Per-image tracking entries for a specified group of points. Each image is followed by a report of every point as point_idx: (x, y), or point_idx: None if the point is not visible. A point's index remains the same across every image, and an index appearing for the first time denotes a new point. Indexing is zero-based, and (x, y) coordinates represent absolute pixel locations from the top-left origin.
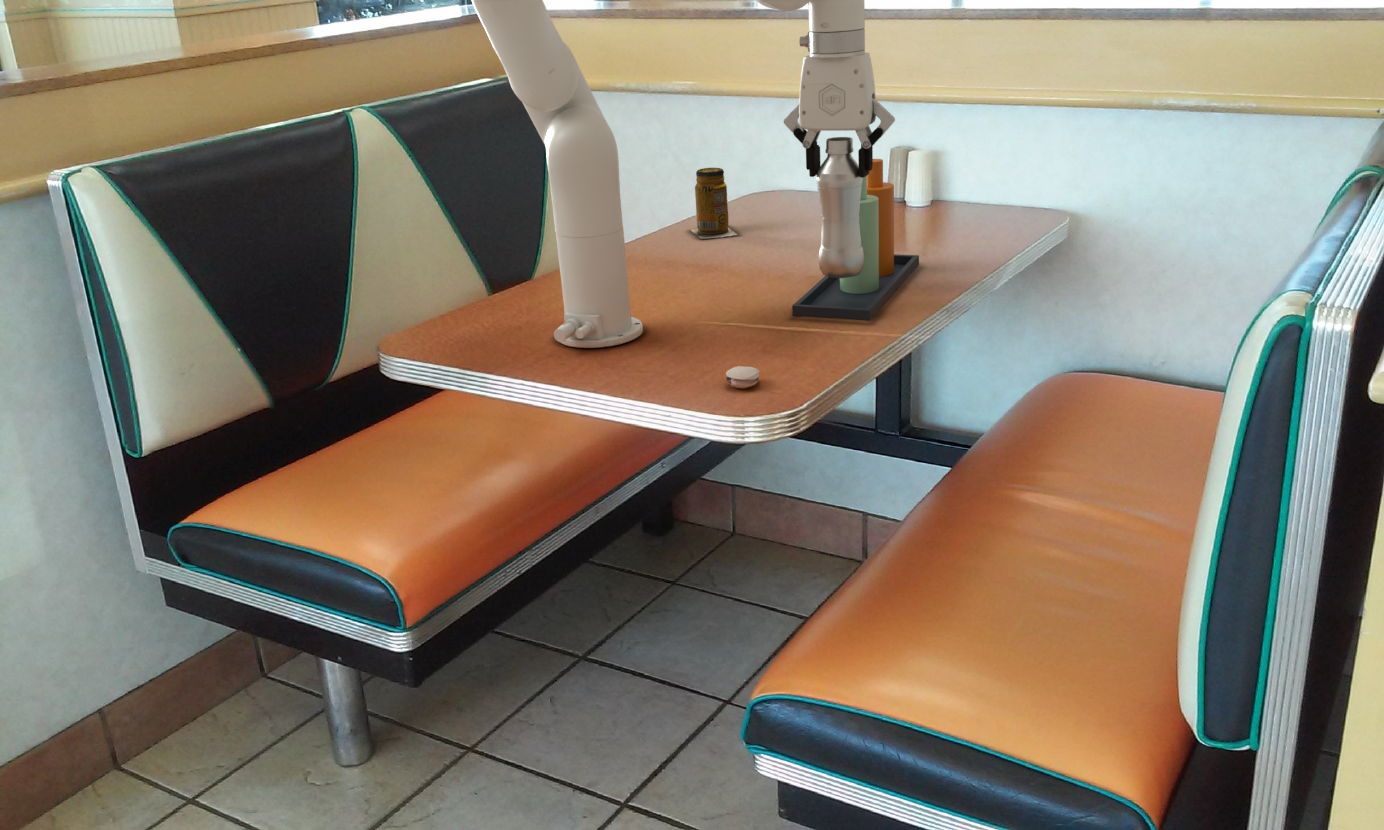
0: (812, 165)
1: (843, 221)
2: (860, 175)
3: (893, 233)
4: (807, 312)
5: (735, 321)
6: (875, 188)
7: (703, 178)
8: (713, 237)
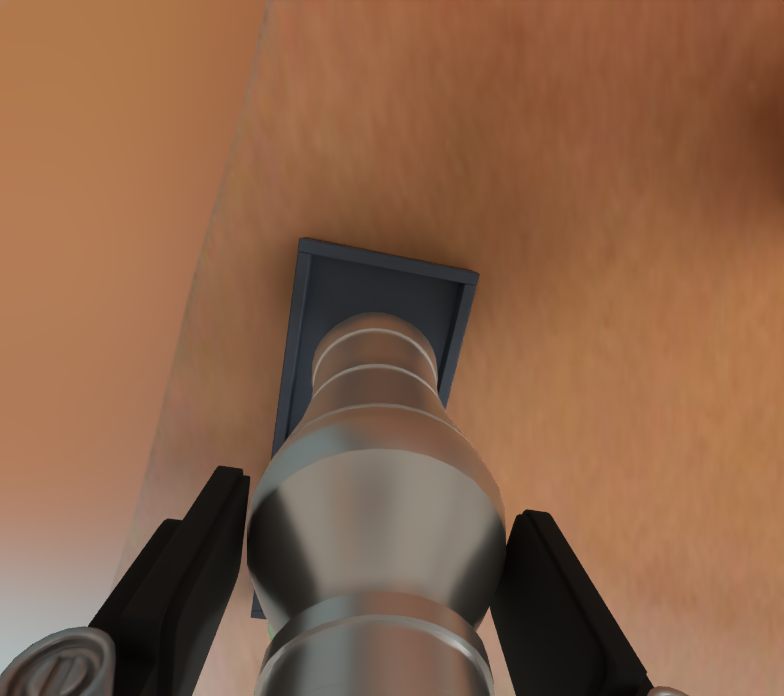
0: (555, 554)
1: (356, 366)
2: (234, 469)
3: None
4: (442, 265)
5: (591, 257)
6: None
7: None
8: None
